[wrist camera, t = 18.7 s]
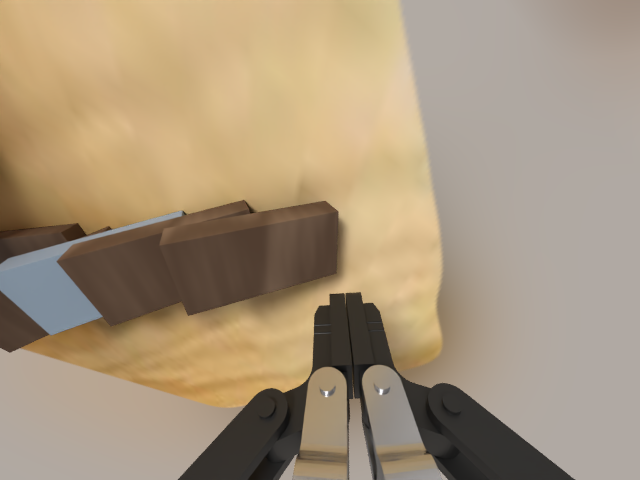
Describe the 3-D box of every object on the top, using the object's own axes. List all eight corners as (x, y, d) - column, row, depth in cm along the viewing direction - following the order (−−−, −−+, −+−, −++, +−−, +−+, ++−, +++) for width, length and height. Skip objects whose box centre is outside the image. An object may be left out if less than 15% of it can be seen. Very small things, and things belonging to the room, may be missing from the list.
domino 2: (154, 273, 21) (27, 331, 19) (108, 226, 18) (-44, 288, 16) (149, 288, 19) (9, 352, 17) (98, 238, 16) (-73, 309, 15)
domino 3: (208, 264, 20) (64, 314, 17) (182, 210, 18) (8, 258, 15) (209, 278, 18) (50, 335, 16) (180, 220, 16) (-16, 276, 13)
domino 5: (325, 259, 20) (189, 294, 16) (325, 200, 17) (163, 228, 14) (336, 273, 18) (187, 315, 15) (338, 211, 15) (159, 245, 12)
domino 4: (261, 257, 20) (119, 305, 17) (244, 200, 17) (72, 244, 14) (267, 271, 18) (111, 326, 15) (248, 209, 15) (56, 261, 12)
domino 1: (119, 270, 21) (15, 280, 22) (84, 219, 19) (-33, 232, 19) (102, 286, 20) (-10, 296, 20) (60, 232, 17) (-67, 246, 18)
